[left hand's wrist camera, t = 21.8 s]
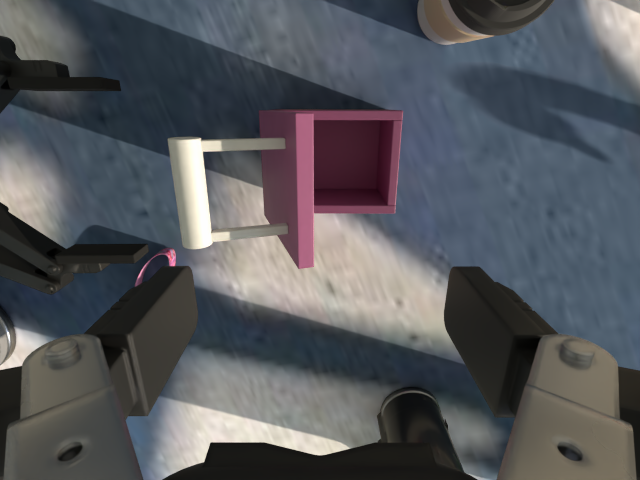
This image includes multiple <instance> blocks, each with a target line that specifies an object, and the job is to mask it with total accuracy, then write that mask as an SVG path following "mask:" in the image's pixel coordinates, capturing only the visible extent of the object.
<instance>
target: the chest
mask: <svg viewBox="0 0 640 480" xmlns="http://www.w3.org/2000/svg"><path fill="white" fill-rule="evenodd" d="M273 111H289V112H305V113H313V136H314V213H395V205H396V193H397V180H398V167H399V155H400V142H401V130H402V118H403V111H401V110H362V109H275V110H273Z"/></svg>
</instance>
